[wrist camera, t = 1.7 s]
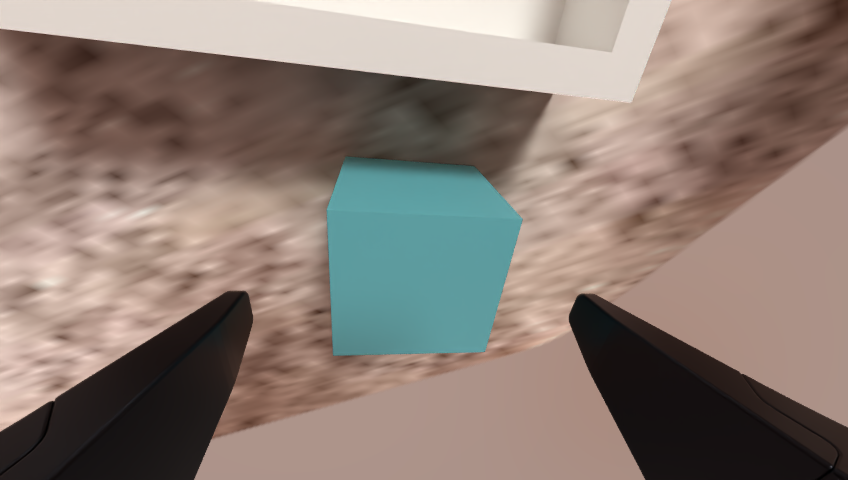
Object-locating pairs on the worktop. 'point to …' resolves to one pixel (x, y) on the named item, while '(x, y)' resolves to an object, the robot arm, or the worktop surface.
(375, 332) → the teal block
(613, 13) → the grey tray
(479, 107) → the worktop surface
